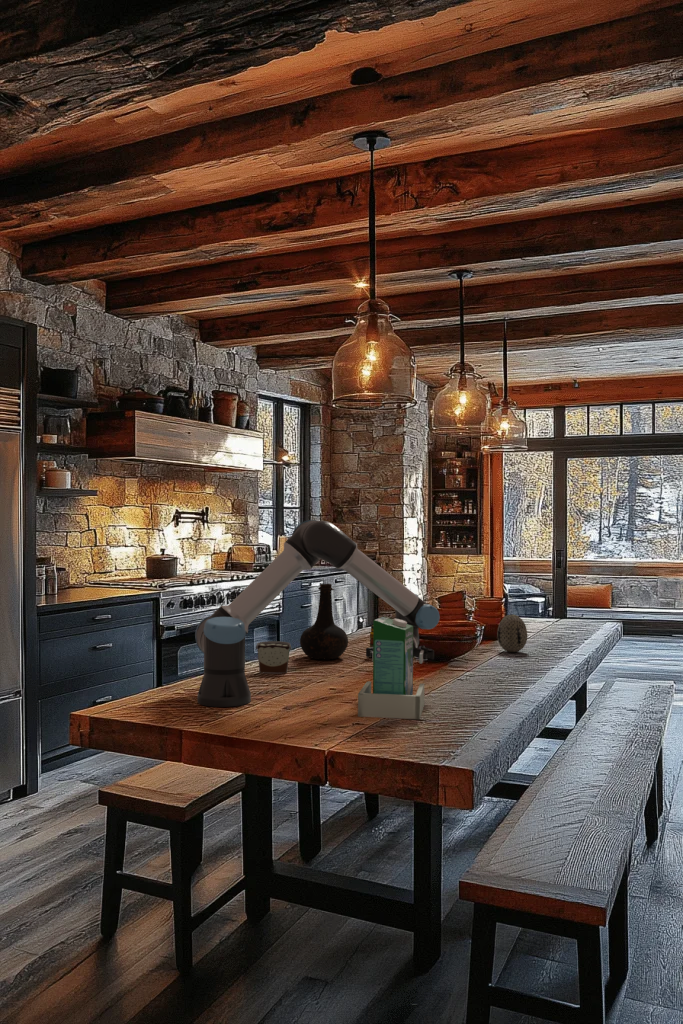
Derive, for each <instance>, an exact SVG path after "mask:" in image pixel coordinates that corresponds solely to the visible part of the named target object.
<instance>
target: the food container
mask: <svg viewBox="0 0 683 1024" xmlns="http://www.w3.org/2000/svg"><path fill="white" fill-rule="evenodd" d="M255 650H257V658H258V659H257V660H258V667H259V668H258V669H259V673H260V672H264V673H263V674H282V673H287V674H288V669H289V658H290V651H292V646H291V643H290V642H287V641H280V640H279V641H278V640H277V641H276V640H269V641H268V640H267V641H260V642H257V643H256V645H255Z"/></svg>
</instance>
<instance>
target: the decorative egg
mask: <svg viewBox="0 0 683 1024" xmlns="http://www.w3.org/2000/svg"><path fill="white" fill-rule="evenodd" d="M496 634H497V635H496V637H497V642H498V644H499V646H500V647H501V648H502V649H503V650H505V651H506V652H507V653H519V652H520V651H522V649H524V647H525V646H526V644H527V642H528V629H527V625H526V624H525V622H524V620H523V618H521V617H520V616H518V615H516V614H511V613H510V614H507V615H505V616H504V617H503V618H502V619H501V620H500V622H499V624H498V627H497V633H496Z"/></svg>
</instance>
